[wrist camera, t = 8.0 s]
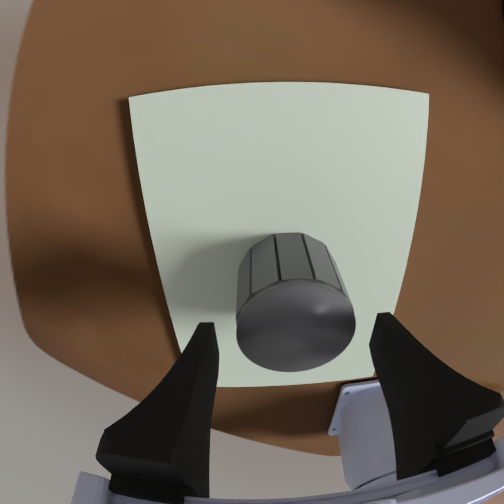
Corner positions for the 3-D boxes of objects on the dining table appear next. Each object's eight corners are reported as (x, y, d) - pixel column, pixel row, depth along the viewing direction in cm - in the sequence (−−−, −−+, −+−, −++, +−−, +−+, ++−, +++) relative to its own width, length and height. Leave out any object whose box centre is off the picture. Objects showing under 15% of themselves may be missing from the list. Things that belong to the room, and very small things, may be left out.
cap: (330, 309, 18) (346, 367, 14) (243, 314, 18) (241, 374, 15) (338, 230, 16) (364, 283, 12) (235, 235, 16) (230, 290, 12)
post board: (369, 365, 23) (383, 412, 19) (193, 374, 23) (186, 424, 19) (417, 92, 13) (471, 102, 9) (137, 95, 13) (93, 104, 9)
